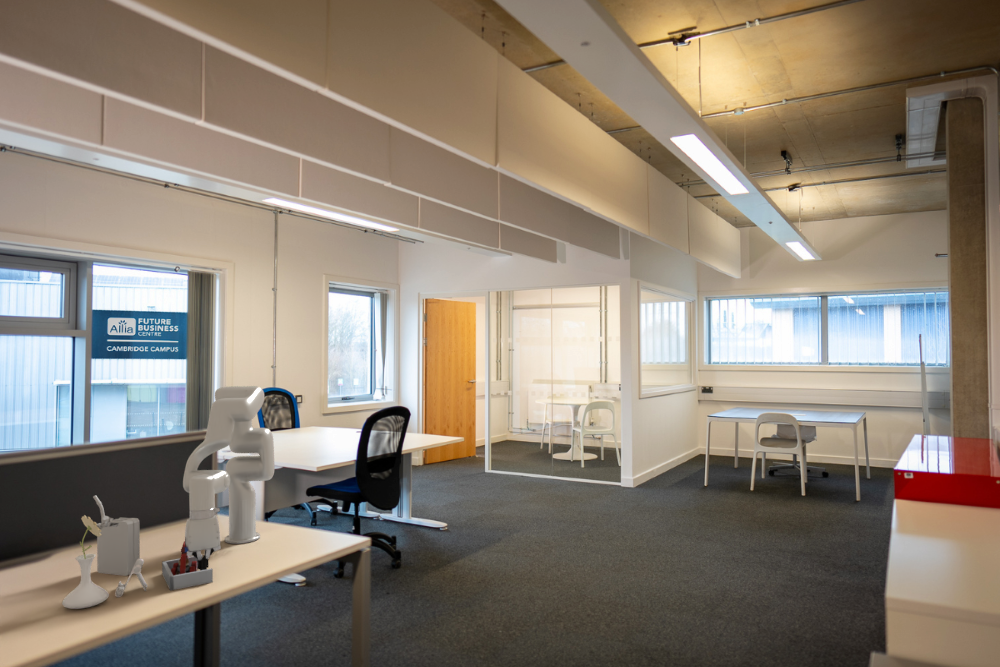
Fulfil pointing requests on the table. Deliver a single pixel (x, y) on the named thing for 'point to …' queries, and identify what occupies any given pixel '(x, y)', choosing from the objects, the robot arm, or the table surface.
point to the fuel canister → (117, 544)
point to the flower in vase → (86, 577)
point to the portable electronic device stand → (135, 570)
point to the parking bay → (185, 575)
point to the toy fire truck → (184, 563)
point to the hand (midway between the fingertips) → (203, 570)
